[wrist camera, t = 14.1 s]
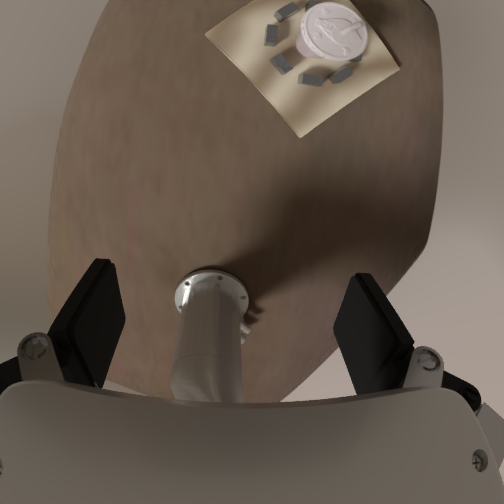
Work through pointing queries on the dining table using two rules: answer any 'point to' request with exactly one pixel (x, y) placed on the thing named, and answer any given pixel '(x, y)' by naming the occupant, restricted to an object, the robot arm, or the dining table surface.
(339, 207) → the dining table surface
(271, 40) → the grey blocks
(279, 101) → the socket plate
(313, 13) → the smoothie
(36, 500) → the robot arm
